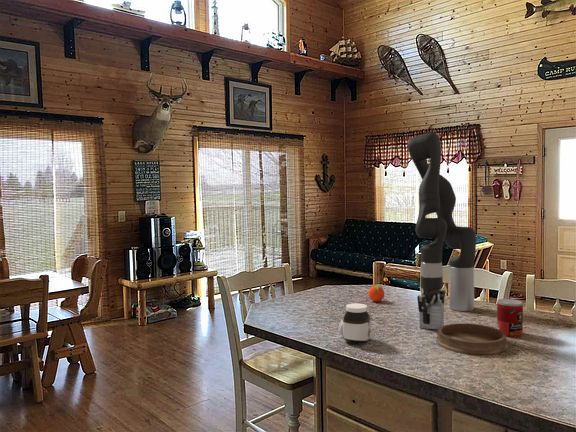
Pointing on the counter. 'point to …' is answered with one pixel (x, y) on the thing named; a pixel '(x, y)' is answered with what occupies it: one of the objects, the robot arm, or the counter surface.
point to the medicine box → (433, 317)
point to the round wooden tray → (472, 339)
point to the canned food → (510, 317)
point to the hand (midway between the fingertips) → (431, 321)
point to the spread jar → (356, 324)
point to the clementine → (376, 293)
